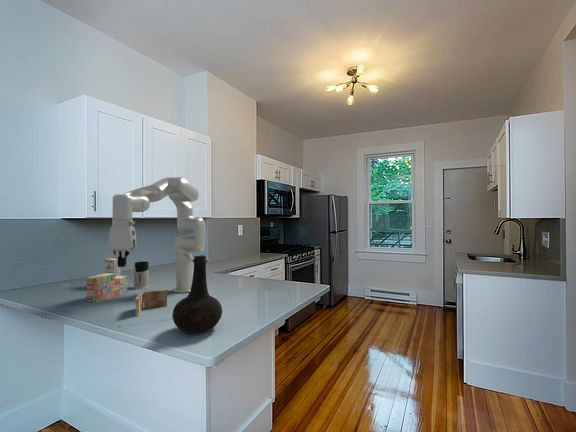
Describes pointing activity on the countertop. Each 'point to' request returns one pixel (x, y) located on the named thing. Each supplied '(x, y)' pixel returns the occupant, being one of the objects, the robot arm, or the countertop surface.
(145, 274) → the white and black mug
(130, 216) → the robot arm
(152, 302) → the fixed fence panel
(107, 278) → the stack of blocks
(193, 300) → the glass bottle
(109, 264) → the candy bar box
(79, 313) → the countertop surface
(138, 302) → the panel
